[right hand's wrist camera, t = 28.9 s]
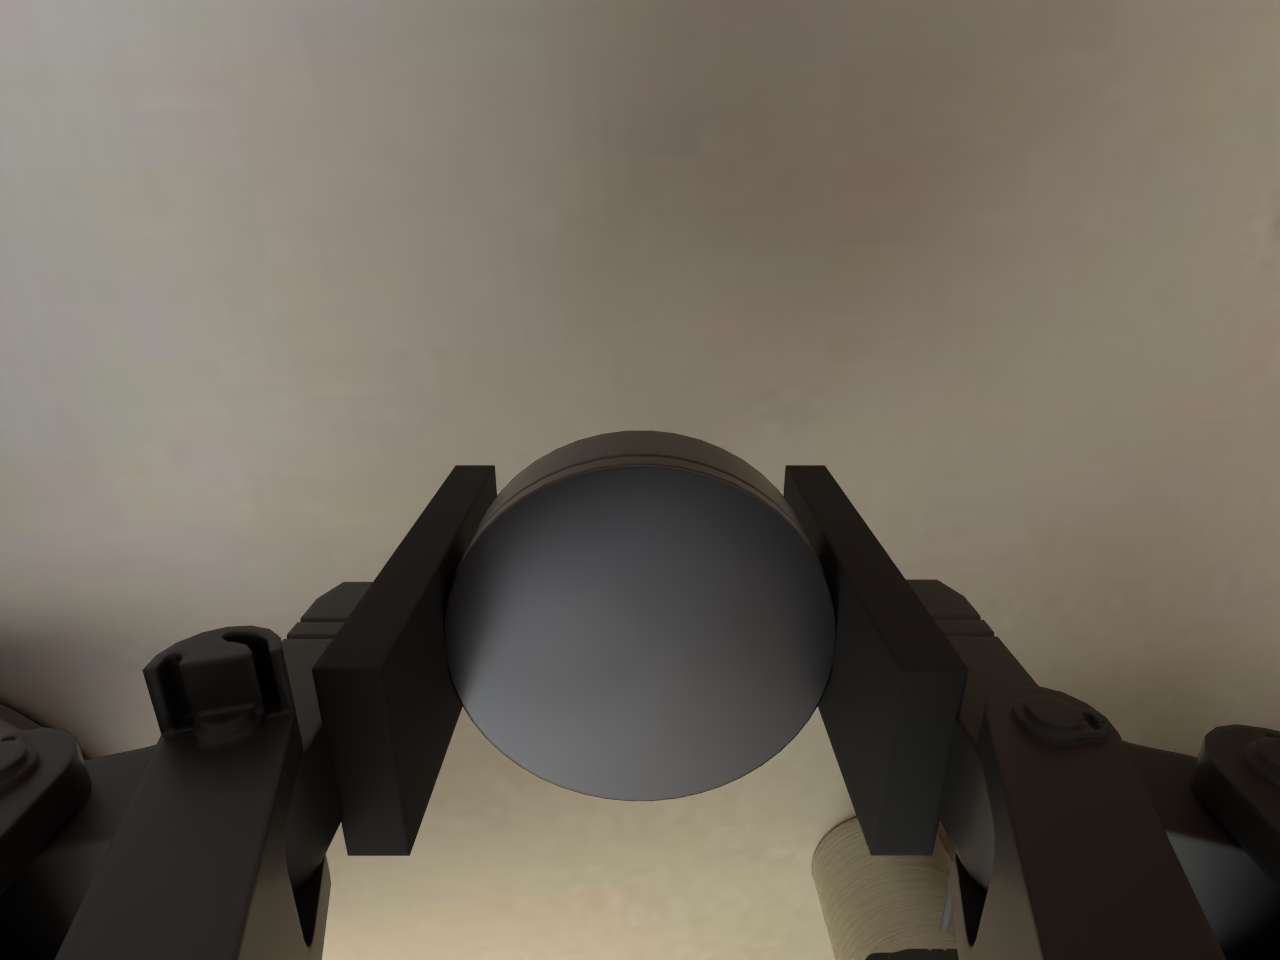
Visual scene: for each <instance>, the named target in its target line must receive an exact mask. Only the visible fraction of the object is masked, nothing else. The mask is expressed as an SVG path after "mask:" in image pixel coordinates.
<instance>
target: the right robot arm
mask: <svg viewBox="0 0 1280 960" xmlns="http://www.w3.org/2000/svg"><path fill="white" fill-rule="evenodd" d="M496 497H497V490H496V477H495V466H455V467H454V469H453V470H452V472H451V473H450V474H449V476H448V477H447V479H446V480H445V481H444V483H443V484H442V486H441V487H440V488H439V490H438V491H437V493H436V494H435V496H434V497H433V498H432V500H431V501H430V503H429V504H428V505H427V507H426V508H425V510H424V511H423V512H422V514H421V515H420V517H419V518H418V520H417V521H416V522H415V524H414V525H413V527H412V528H411V529H410V531H409V532H408V534H407V535H406V536H405V538H404V539H403V541H402V542H401V544H400V545H399V546H398V548H397V549H396V551H395V552H394V553H393V555H392V556H391V558H390V559H389V560H388V562H387V563H386V565H385V566H384V568H383V569H382V570H381V572H380V573H379V575H378V576H377V577H376V579H375V580H374V582H343V583H341V584H340V585H338V586H337V587H335V588H333V589H332V590H330V591H329V592H327V593H325V594H324V595H322V596H321V597H319V598H317V599H316V600H315V602H314V603H313V604H312V605H311V606H310V608H309V609H308V610H307V611H306V613H305V614H304V615H303V616H302V617H301V621H300V622H297V624H296V625H295V626H294V627H293V628H292V630H291V631H290V632H289V633H288V634H287V639H283V641H282V642H281V638H280V637H279V636H278V635H277V634H275V633H274V632H273V631H271V630H270V629H266V628H261V627H256V626H234V627H225V628H220V629H216V630H212V631H207V632H203V633H200V634H197V635H195V636H192V637H190V638H187V639H185V640H182V641H180V642H177V643H175V644H174V645H172V646H171V647H169V648H167V649H166V650H164V651H163V652H161V653H159V654H158V655H156V656H155V657H154V658H153V659H152V660H151V662H150V663H149V664H148V665H147V666H146V667H145V668H144V669H143V674H144V677H145V680H146V684H147V687H148V690H149V694H150V697H151V701H152V704H153V707H154V711H155V714H156V718H157V721H158V724H159V728H160V731H161V734H162V735H161V737H160V739H159V741H158V743H157V745H153V746H149V747H146V748H141V749H137V750H132V751H127V752H122V753H117V754H113V755H108V756H103V757H98V758H93V759H89V760H84V759H83V756H82V753H81V750H80V748H79V745H78V742H77V739H76V738H75V737H74V736H72V735H71V734H70V733H68V732H67V731H66V730H61V729H52V728H43V727H41V726H39V725H38V724H36V723H34V722H33V721H31V720H30V719H28V718H26V717H25V716H23V715H21V714H19V713H17V712H15V711H13V710H12V709H10V708H8V707H6V706H4V705H2V704H0V960H322V953H323V945H324V936H325V928H326V920H327V912H328V903H329V895H330V887H331V881H330V873H329V867H328V862H327V857H326V851H327V849H328V847H329V845H330V843H331V841H332V839H333V837H334V835H335V833H336V831H337V829H338V827H339V825H340V823H342V828H343V833H344V838H345V843H346V848H347V853H348V856H410V853H411V850H412V847H413V845H414V842H415V839H416V836H417V833H418V830H419V828H420V825H421V822H422V819H423V816H424V813H425V811H426V808H427V805H428V802H429V799H430V797H431V794H432V791H433V788H434V785H435V782H436V780H437V777H438V774H439V771H440V768H441V765H442V763H443V760H444V757H445V754H446V751H447V749H448V746H449V743H450V740H451V737H452V734H453V732H454V729H455V726H456V723H457V720H458V718H459V715H460V712H461V709H462V704H461V702H460V700H459V698H458V696H457V693H456V691H455V689H454V687H453V684H452V682H451V678H450V675H449V671H448V664H447V656H446V647H445V638H444V628H443V616H444V610H445V605H446V600H447V594H448V591H449V589H450V586H451V583H452V580H453V577H454V574H455V572H456V570H457V568H458V566H459V564H460V562H461V560H462V558H463V556H464V554H465V552H466V550H467V548H468V546H469V544H470V542H471V540H472V538H473V536H474V534H475V532H476V530H477V528H478V526H479V524H480V523H481V521H482V519H483V517H484V515H485V513H486V511H487V509H488V508H489V507H490V505H491V504H492V503H493V501H494V500H495V499H496ZM783 497H784V498H785V499H786V501H787V502H788V503H789V505H790V506H791V507H792V509H793V511H794V513H795V515H796V516H797V518H798V520H799V522H800V524H801V525H802V527H803V529H804V531H805V533H806V535H807V537H808V539H809V541H810V543H811V545H812V547H813V549H814V551H815V553H816V555H817V557H818V559H819V561H820V563H821V565H822V567H823V569H824V571H825V574H826V577H827V580H828V582H829V585H830V588H831V590H832V594H833V599H834V604H835V609H836V613H837V633H836V643H835V652H834V660H833V668H832V672H831V676H830V680H829V682H828V685H827V687H826V689H825V692H824V694H823V697H822V699H821V701H820V703H819V704H818V708H819V711H820V713H821V716H822V719H823V722H824V725H825V728H826V730H827V733H828V736H829V739H830V742H831V744H832V747H833V750H834V753H835V756H836V759H837V761H838V764H839V767H840V770H841V773H842V776H843V778H844V781H845V784H846V787H847V790H848V792H849V795H850V798H851V801H852V804H853V807H854V809H855V812H856V815H857V818H858V821H859V824H860V826H861V829H862V832H863V835H864V838H865V840H866V843H867V846H868V849H869V852H870V855H871V856H933V851H934V846H935V840H936V835H937V830H938V825H939V820H941V822H942V824H943V826H944V828H945V830H946V832H947V834H948V836H949V839H950V841H951V843H952V845H953V847H954V849H955V852H954V857H953V862H952V867H951V871H950V876H949V881H948V886H947V891H946V895H945V900H944V905H943V910H942V915H941V922H940V930H944V931H948V932H950V927H951V922H952V918H954V926H955V935H956V943H957V951H958V959H959V960H1280V732H1279V731H1275V730H1270V729H1266V728H1259V727H1252V726H1245V725H1238V724H1237V725H1228V726H1219V727H1216V728H1214V729H1213V730H1212V731H1210V732H1209V733H1208V734H1206V735H1205V738H1204V741H1203V744H1202V747H1201V749H1200V752H1199V755H1198V757H1193V756H1188V755H1183V754H1179V753H1174V752H1169V751H1164V750H1159V749H1154V748H1150V747H1145V746H1140V745H1136V744H1132V743H1128V742H1124V741H1122V740H1121V737H1120V735H1119V733H1118V732H1117V731H1116V730H1115V728H1114V727H1113V726H1112V724H1111V723H1110V722H1109V721H1108V719H1107V718H1106V717H1105V716H1103V715H1102V714H1100V713H1099V712H1098V711H1096V710H1095V709H1094V708H1092V707H1091V706H1089V705H1088V704H1087V703H1085V702H1082V701H1080V700H1078V699H1076V698H1074V697H1072V696H1069V695H1067V694H1065V693H1063V692H1059V691H1055V690H1051V689H1047V688H1044V687H1040V686H1038V685H1037V684H1036V683H1035V681H1034V680H1033V679H1032V678H1031V677H1030V675H1029V674H1028V673H1027V672H1026V671H1025V669H1024V668H1023V667H1022V666H1021V665H1020V663H1019V662H1018V661H1017V660H1016V658H1015V657H1014V656H1013V655H1012V654H1011V652H1010V651H1009V650H1008V649H1007V648H1006V646H1005V645H1004V644H1003V643H1002V642H1001V640H1000V639H999V638H998V637H994V632H993V631H992V629H991V628H990V627H989V626H988V625H987V623H986V622H985V621H984V620H981V619H980V615H979V614H978V613H977V611H976V610H975V609H974V608H973V607H972V605H971V604H970V603H969V602H968V601H967V599H966V598H965V597H964V596H963V595H961V594H959V593H958V592H956V591H955V590H953V589H951V588H950V587H948V586H946V585H945V584H943V583H942V582H940V581H938V580H905V578H904V577H903V575H902V574H901V572H900V571H899V570H898V568H897V567H896V565H895V564H894V563H893V561H892V560H891V558H890V557H889V556H888V554H887V553H886V551H885V550H884V548H883V547H882V546H881V544H880V543H879V541H878V540H877V539H876V537H875V536H874V534H873V533H872V532H871V530H870V529H869V527H868V526H867V524H866V523H865V522H864V520H863V519H862V517H861V516H860V515H859V513H858V512H857V510H856V509H855V508H854V506H853V505H852V503H851V502H850V501H849V499H848V498H847V496H846V495H845V493H844V492H843V491H842V489H841V488H840V486H839V485H838V484H837V482H836V481H835V479H834V478H833V477H832V475H831V474H830V472H829V471H828V469H827V468H826V467H825V466H786V469H785V482H784V495H783Z"/></svg>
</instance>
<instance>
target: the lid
mask: <svg viewBox="0 0 1280 960" xmlns="http://www.w3.org/2000/svg"><path fill="white" fill-rule="evenodd" d="M443 628H444V638H445V647H446V656H447V664H448V671H449V675H450V678H451V682H452V684H453V687H454V689H455V691H456V693H457V696H458V698H459V700H460V702H461V704H462V706H463V707H464V709H465V710H466V712H467V714H468V715H469V717H470V718H471V720H472V721H473V723H474V724H475V725H476V726H477V728H478V729H479V730H480V731H481V732H482V734H483V735H484V736H485V737H486V738H487V739H488V740H489V741H490V742H491V743H492V744H493V745H494V746H495V747H496V748H497V749H498V750H499V751H500V752H502V753H503V754H504V755H505V756H507V757H508V758H509V759H511V760H512V761H513V762H515V763H516V764H518V765H519V766H520V767H522V768H524V769H525V770H527V771H529V772H531V773H532V774H534V775H536V776H538V777H539V778H541V779H544V780H546V781H548V782H551V783H553V784H555V785H557V786H560V787H562V788H565V789H569V790H572V791H575V792H578V793H582V794H585V795H590V796H595V797H600V798H605V799H614V800H625V801H657V800H666V799H675V798H681V797H685V796H690V795H695V794H699V793H702V792H705V791H709V790H712V789H715V788H718V787H721V786H723V785H725V784H728V783H730V782H732V781H734V780H737V779H739V778H741V777H743V776H745V775H746V774H748V773H750V772H752V771H753V770H755V769H757V768H758V767H760V766H762V765H763V764H764V763H766V762H767V761H768V760H770V759H771V758H772V757H774V756H775V755H776V754H778V753H779V752H780V751H781V750H782V749H783V748H784V747H785V746H786V745H787V744H788V743H789V742H790V741H791V740H793V739H794V738H795V737H796V735H797V734H798V733H799V732H800V730H801V729H802V728H803V727H804V725H805V724H806V723H807V722H808V720H809V719H810V718H811V716H812V714H813V713H814V711H815V709H816V708H817V706H818V704H819V703H820V701H821V699H822V697H823V694H824V692H825V689H826V687H827V685H828V682H829V680H830V676H831V672H832V668H833V660H834V652H835V643H836V633H837V613H836V609H835V604H834V599H833V594H832V590H831V588H830V585H829V582H828V580H827V577H826V574H825V571H824V569H823V567H822V565H821V563H820V561H819V559H818V557H817V555H816V553H815V551H814V549H813V547H812V545H811V543H810V541H809V539H808V537H807V535H806V533H805V531H804V529H803V527H802V525H801V524H800V522H799V520H798V518H797V516H796V515H795V513H794V511H793V509H792V507H791V506H790V505H789V503H788V502H787V501H786V499H785V498H784V497H783V496H782V494H781V493H780V492H779V490H778V489H777V488H776V487H775V486H774V485H773V484H772V483H771V482H770V481H769V480H768V479H767V478H766V477H765V476H764V475H763V474H761V473H760V472H759V471H757V470H756V469H755V468H753V467H752V466H751V465H749V464H748V463H747V462H745V461H744V460H742V459H741V458H739V457H737V456H735V455H733V454H731V453H730V452H728V451H726V450H724V449H722V448H720V447H717V446H715V445H712V444H710V443H707V442H705V441H702V440H699V439H695V438H691V437H687V436H683V435H679V434H675V433H666V432H658V431H621V432H614V433H606V434H600V435H597V436H593V437H589V438H585V439H581V440H578V441H575V442H573V443H570V444H568V445H566V446H563V447H561V448H558V449H556V450H554V451H552V452H550V453H549V454H547V455H545V456H543V457H542V458H540V459H538V460H536V461H535V462H533V463H532V464H531V465H530V466H528V467H527V468H526V469H524V470H523V471H522V472H520V473H519V474H518V475H516V477H515V478H514V479H513V480H512V481H511V482H510V483H509V484H508V485H507V486H506V487H505V488H504V489H503V490H502V491H501V492H500V493H499V494H498V496H497V497H496V499H495V500H494V501H493V503H492V504H491V505H490V507H489V508H488V509H487V511H486V513H485V515H484V517H483V519H482V521H481V523H480V524H479V526H478V528H477V530H476V532H475V534H474V536H473V538H472V540H471V542H470V544H469V546H468V548H467V550H466V552H465V554H464V556H463V558H462V560H461V562H460V564H459V566H458V568H457V570H456V572H455V574H454V577H453V580H452V583H451V586H450V589H449V591H448V594H447V600H446V605H445V610H444V616H443Z"/></svg>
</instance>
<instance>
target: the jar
mask: <svg viewBox="0 0 1280 960" xmlns="http://www.w3.org/2000/svg"><path fill="white" fill-rule="evenodd" d="M951 867H952V862H951V860H950V858H949V856H948V854H947V852H946V850H945V848H944V846H943V844H942V841H941V840H940V838H939V836H938V834H937V835H936V840H935V846H934V851H933V856H871V855H870V852H869V849H868V846H867V843H866V840H865V838H864V835H863V832H862V829H861V826H860V824H859V821H858V818H857V817H855V818H853V819H850V820H848V821H846V822H844V823H842V824H840V825H839V826H837V827H836V828H834V829H833V830H832V831H831V832H830V833H828V834H827V836H826V837H825V838H824V839H823V840H822V841H821V843H820V844H819V846H818V848H817V849H816V851H815V854H814V857H813V862H812V873H813V878H814V882H815V886H816V889H817V893H818V897H819V900H820V904H821V908H822V911H823V915H824V919H825V922H826V926H827V930H828V933H829V937H830V941H831V944H832V948H833V952H834V955H835V959H836V960H865V959H866V958H867V956H868V955H870V954H872V953H894V952H898V951H902V950H905V949H928V950H930V951H931V949H943V950H945V951H946V949H957V943H956V935H955V926H954V918H952V922H951V927H950V932H948V931H944V930H940V922H941V915H942V910H943V905H944V900H945V895H946V891H947V886H948V881H949V876H950V871H951Z"/></svg>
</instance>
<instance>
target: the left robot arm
mask: <svg viewBox="0 0 1280 960" xmlns="http://www.w3.org/2000/svg"><path fill="white" fill-rule="evenodd" d="M865 960H959V959H958V951H957V949H946V951H945V950H943V949H931V951H930V950H928V949H905V950H902V951H898V952H894V953H872V954H870V955H868V956H867V958H866V959H865Z"/></svg>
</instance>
